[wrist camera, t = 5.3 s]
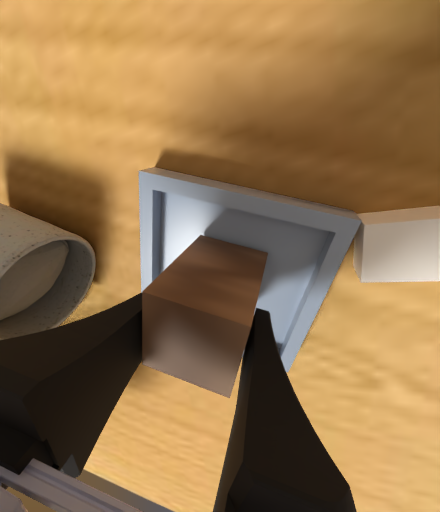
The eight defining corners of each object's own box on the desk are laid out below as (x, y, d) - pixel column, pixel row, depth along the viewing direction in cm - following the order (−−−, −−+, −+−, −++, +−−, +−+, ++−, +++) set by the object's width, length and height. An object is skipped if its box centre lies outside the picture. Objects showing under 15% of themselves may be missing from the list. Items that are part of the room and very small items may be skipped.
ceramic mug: (-1, 180, 17) (-183, 211, 11) (96, 218, 16) (-37, 277, 10) (26, 287, 23) (-82, 351, 16) (99, 319, 22) (16, 400, 15)
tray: (353, 210, 12) (361, 220, 10) (288, 353, 17) (288, 372, 16) (154, 167, 13) (138, 170, 12) (152, 308, 19) (141, 322, 17)
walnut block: (268, 252, 13) (251, 326, 8) (252, 308, 15) (229, 398, 9) (200, 234, 13) (142, 291, 8) (193, 289, 15) (142, 364, 10)
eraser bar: (510, 195, 10) (556, 208, 8) (490, 257, 11) (527, 279, 10) (354, 212, 12) (364, 225, 10) (351, 263, 13) (360, 282, 11)
